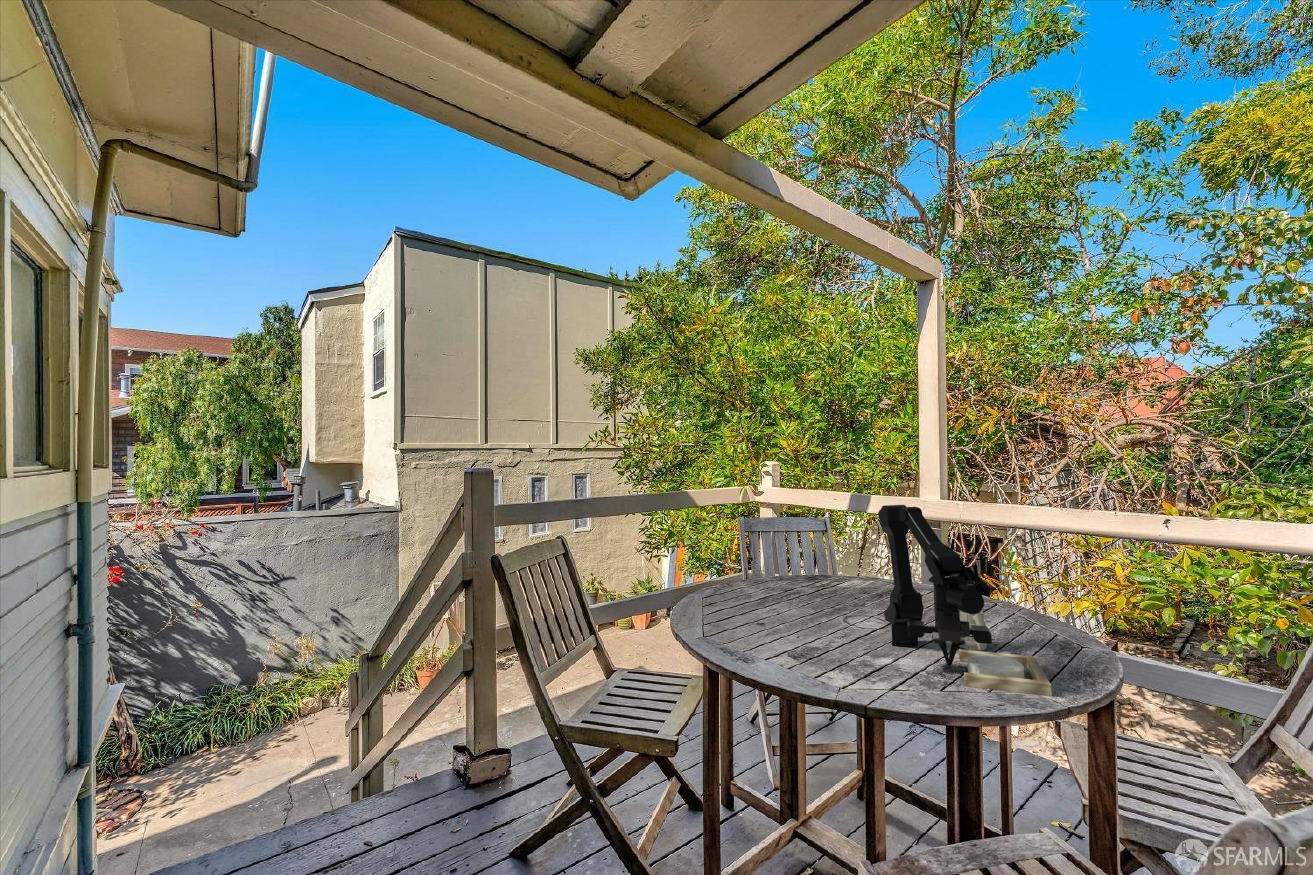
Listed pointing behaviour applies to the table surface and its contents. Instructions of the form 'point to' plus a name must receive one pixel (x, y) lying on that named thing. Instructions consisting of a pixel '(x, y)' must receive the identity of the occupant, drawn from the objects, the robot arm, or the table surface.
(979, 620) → the mug
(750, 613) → the table surface
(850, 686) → the table surface
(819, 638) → the table surface
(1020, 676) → the mooncake
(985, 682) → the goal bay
